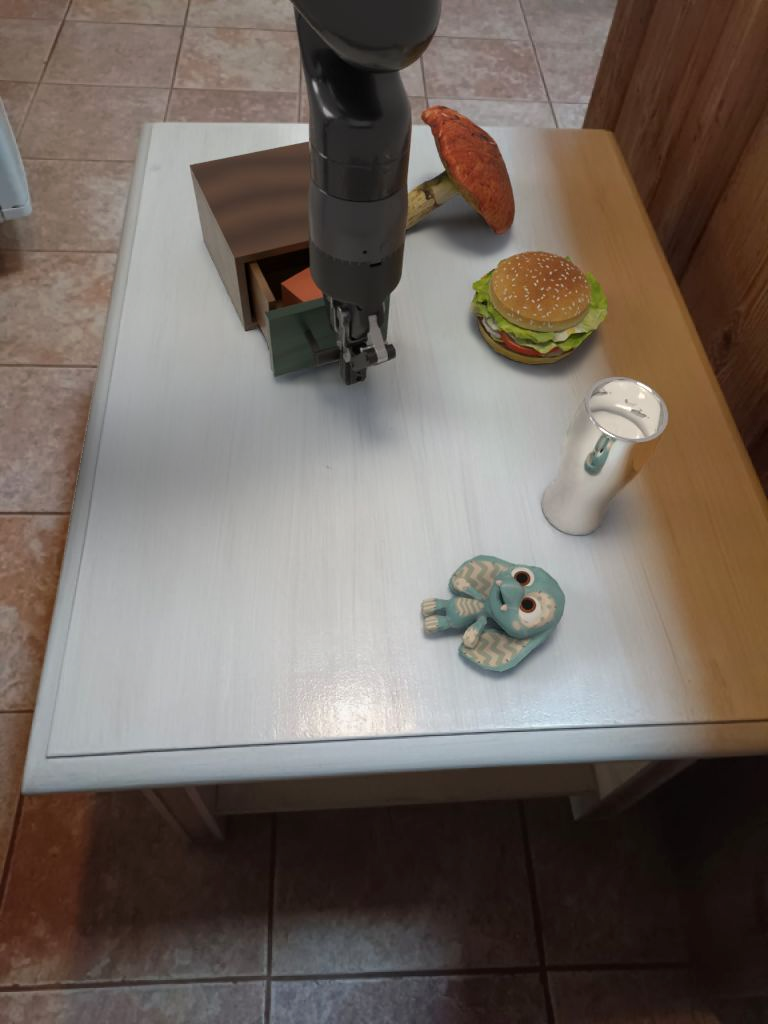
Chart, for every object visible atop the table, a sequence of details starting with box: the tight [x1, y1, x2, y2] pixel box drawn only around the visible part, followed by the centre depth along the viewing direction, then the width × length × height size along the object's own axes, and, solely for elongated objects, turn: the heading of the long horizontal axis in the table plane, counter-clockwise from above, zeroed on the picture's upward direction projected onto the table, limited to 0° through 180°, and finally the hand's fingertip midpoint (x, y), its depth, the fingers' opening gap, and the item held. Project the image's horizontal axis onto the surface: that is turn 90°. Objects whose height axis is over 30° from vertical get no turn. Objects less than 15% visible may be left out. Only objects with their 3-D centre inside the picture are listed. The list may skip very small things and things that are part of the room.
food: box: [470, 250, 609, 365], centre depth 78 cm, size 14×14×8 cm
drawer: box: [244, 248, 391, 378], centre depth 75 cm, size 19×13×8 cm
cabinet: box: [189, 140, 310, 332], centre depth 80 cm, size 16×14×10 cm
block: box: [281, 267, 323, 307], centre depth 76 cm, size 4×4×4 cm
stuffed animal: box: [420, 554, 566, 673], centre depth 60 cm, size 11×7×12 cm
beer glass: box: [541, 376, 669, 536], centre depth 63 cm, size 7×7×15 cm
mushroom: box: [406, 104, 516, 236], centre depth 86 cm, size 16×15×15 cm
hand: (352, 378), depth 70 cm, fingers closed
